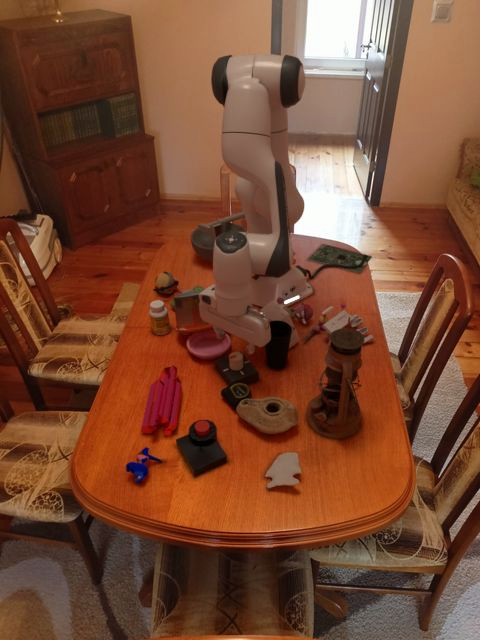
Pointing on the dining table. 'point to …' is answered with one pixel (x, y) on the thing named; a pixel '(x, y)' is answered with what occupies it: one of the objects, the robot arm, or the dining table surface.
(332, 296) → the dining table surface
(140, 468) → the figurine
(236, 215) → the toilet paper hanger
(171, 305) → the toy food set
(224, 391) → the tape measure
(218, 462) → the button box
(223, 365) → the dial panel
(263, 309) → the ink box
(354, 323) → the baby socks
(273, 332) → the cup
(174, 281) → the toy
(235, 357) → the dial knob
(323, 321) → the candy
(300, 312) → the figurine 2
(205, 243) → the bowl
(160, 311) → the supplement bottle
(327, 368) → the lantern
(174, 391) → the crystal
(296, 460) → the arrowhead
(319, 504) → the dining table surface
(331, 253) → the circuit board
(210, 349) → the saucer
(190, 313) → the food container
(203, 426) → the red button
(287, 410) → the oil lamp
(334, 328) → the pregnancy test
